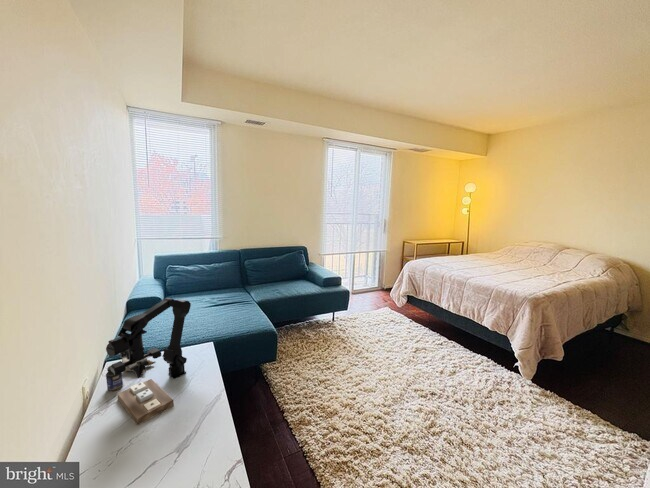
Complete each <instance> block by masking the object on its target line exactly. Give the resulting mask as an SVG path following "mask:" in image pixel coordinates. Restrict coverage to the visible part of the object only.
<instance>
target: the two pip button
mask: <svg viewBox="0 0 650 488" xmlns="http://www.w3.org/2000/svg"><path fill="white" fill-rule="evenodd" d="M129 388H130V392H131V393H132V394H133V395H135V394H137V393H139V392H141V391H144V390H146V385H145V384H144V383H143V381H140V382H139V383H136V384H134V385H131V386H129Z"/></svg>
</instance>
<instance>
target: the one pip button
mask: <svg viewBox="0 0 650 488" xmlns="http://www.w3.org/2000/svg"><path fill="white" fill-rule="evenodd" d="M159 405H161V403H160V402H159V401H158V400H157V399H154V400H152V401H150V402H148V403H146V404H144V405H143V406H144V408H145V409H146V410H147V411H149V410H151V409H153V408H155V407H157V406H159Z"/></svg>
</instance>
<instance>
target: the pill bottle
mask: <svg viewBox="0 0 650 488" xmlns="http://www.w3.org/2000/svg"><path fill="white" fill-rule="evenodd" d="M110 367H111V365H109V366H108V367H107V368H106V369H107V372H106V374H105V377H106V386H107V387H106V388H107V391H108V392H115V391H118V390H120V389H122V387H123V386H124V381H123V379H124V378H123V372H122V373H120V374H117V375H115V374H114V373H113V372H112V371H111V369H110Z"/></svg>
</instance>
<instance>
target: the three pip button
mask: <svg viewBox="0 0 650 488" xmlns="http://www.w3.org/2000/svg"><path fill="white" fill-rule="evenodd" d="M136 397H137V400H138V401H139V402H140V403H141V402H143V401H145V400H147V399H149V398H151V397H153V393H152V391H151V390H150V389H146V390H144V391H142V392H140V393H138V394H136Z"/></svg>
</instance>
